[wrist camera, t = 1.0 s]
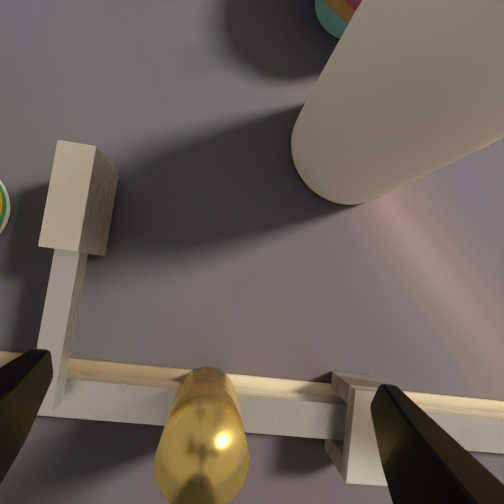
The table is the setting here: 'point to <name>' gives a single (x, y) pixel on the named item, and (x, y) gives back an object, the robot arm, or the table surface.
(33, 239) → the table surface
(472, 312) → the table surface
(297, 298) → the table surface
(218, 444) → the rod
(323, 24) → the cupcake
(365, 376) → the track
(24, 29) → the table surface
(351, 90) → the milk bottle
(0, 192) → the supplement bottle
